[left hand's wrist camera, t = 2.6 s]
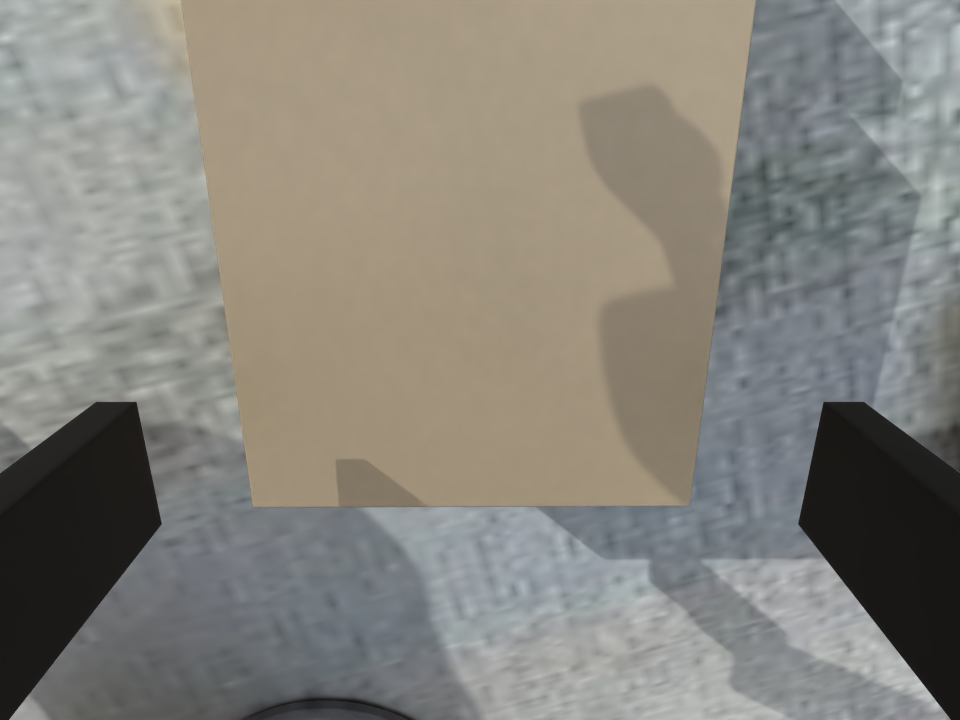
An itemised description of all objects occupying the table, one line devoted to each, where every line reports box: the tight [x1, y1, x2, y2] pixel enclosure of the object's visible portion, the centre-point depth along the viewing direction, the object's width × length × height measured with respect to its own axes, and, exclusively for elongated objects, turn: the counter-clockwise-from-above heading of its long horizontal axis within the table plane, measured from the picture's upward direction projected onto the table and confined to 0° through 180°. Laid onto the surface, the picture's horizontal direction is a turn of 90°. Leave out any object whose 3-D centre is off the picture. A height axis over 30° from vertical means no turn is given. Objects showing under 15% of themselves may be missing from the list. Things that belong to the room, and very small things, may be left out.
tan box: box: [181, 0, 756, 507], centre depth 19 cm, size 17×12×12 cm, turn 0°
